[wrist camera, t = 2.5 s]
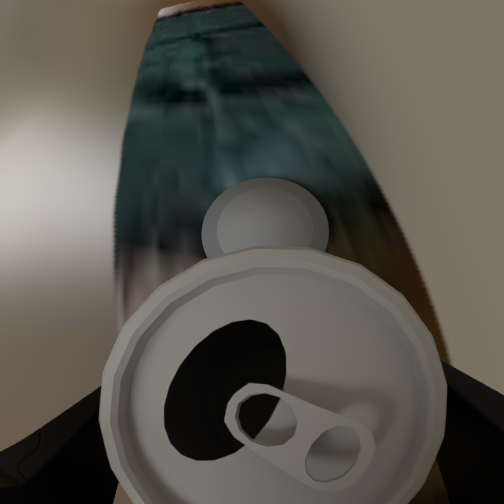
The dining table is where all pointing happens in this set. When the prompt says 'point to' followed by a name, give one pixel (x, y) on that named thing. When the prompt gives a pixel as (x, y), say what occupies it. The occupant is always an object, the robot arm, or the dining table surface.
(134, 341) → the can
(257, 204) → the coaster
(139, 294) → the dining table surface
